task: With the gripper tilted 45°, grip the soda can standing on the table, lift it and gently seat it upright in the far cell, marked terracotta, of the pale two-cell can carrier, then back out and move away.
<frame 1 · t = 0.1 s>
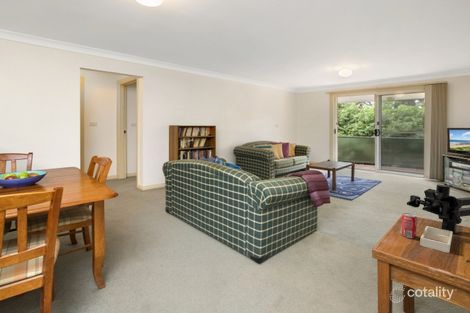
hand: (414, 206, 135), 17 cm above the table, tool horizontal, fingers open, 9 cm apart
soda can: (408, 236, 137), on the table
can carrier: (436, 242, 130), on the table
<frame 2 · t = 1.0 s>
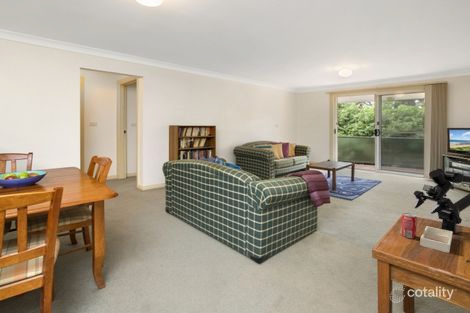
hand: (422, 210, 137), 14 cm above the table, tool tilted 45°, fingers open, 9 cm apart
nothing on the table moved.
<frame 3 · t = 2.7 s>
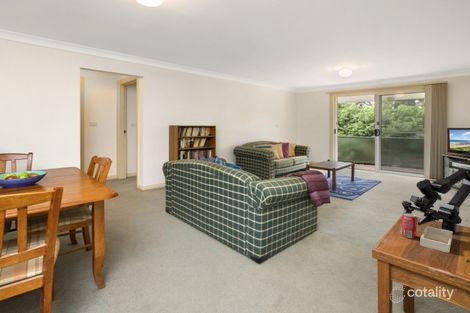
hand: (410, 221, 136), 8 cm above the table, tool tilted 45°, fingers open, 9 cm apart
nothing on the table moved.
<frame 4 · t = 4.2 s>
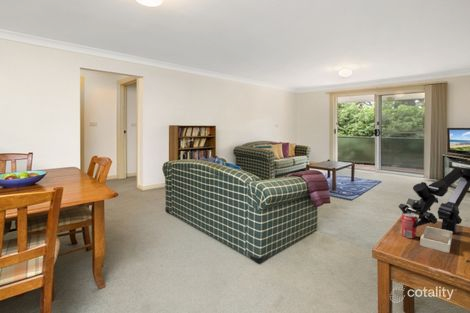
hand: (406, 224, 135), 7 cm above the table, tool tilted 45°, fingers closed on soda can, 7 cm apart
soda can: (408, 236, 137), on the table, touching gripper
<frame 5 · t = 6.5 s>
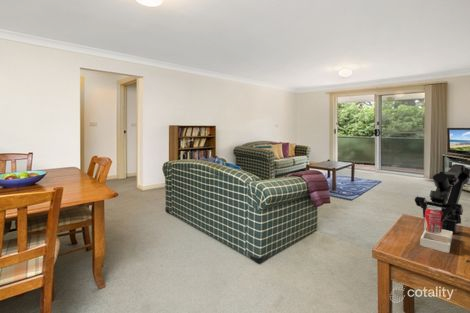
hand: (432, 219, 125), 13 cm above the table, tool tilted 45°, fingers closed on soda can, 7 cm apart
soda can: (432, 231, 126), point 6 cm above the table, touching gripper
when the fingers open (8 cm above the table, at t = 9.0 s): soda can stays where it is, resting on can carrier.
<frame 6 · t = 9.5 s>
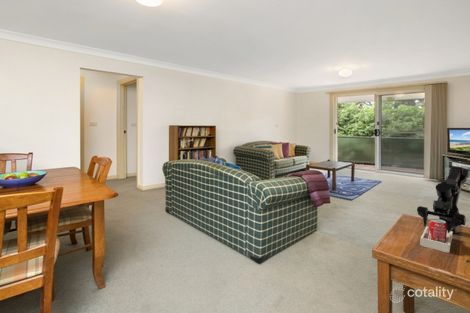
hand: (436, 229, 124), 9 cm above the table, tool tilted 45°, fingers open, 9 cm apart
soda can: (436, 244, 126), point 1 cm above the table, touching can carrier
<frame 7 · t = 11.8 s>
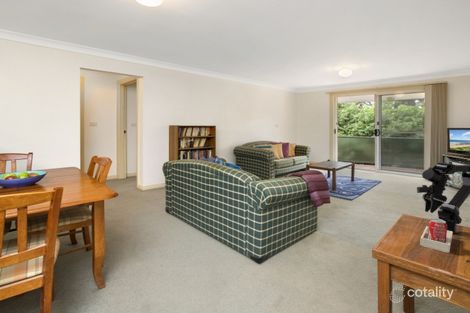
hand: (428, 212, 137), 13 cm above the table, tool tilted 20°, fingers open, 9 cm apart
nothing on the table moved.
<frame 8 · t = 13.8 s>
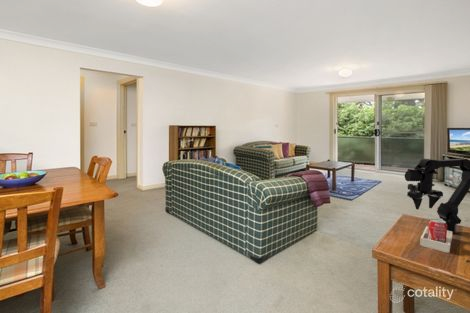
hand: (423, 208, 142), 13 cm above the table, tool pointing down, fingers open, 9 cm apart
nothing on the table moved.
at the end: soda can 0.4 cm from the target spot on the can carrier, point 0.5 cm above the can carrier's base; soda can tilted 0°; the gripper is holding nothing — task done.
